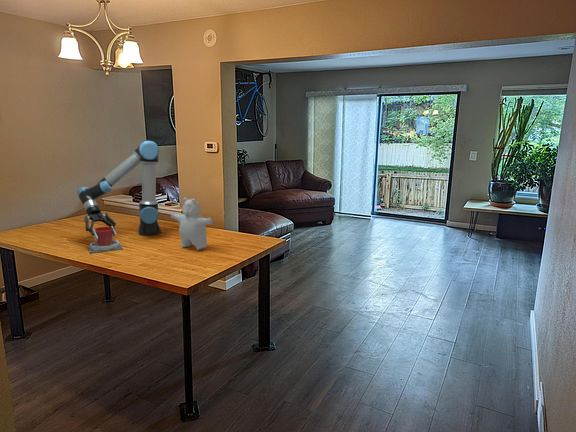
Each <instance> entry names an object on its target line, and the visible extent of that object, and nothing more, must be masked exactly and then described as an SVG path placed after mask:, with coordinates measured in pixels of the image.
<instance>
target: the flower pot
mask: <svg viewBox="0 0 576 432" xmlns="http://www.w3.org/2000/svg"><path fill="white" fill-rule="evenodd" d="M93 229H94V230H95V232H96V234H97V236H98V240H96V241H97V244H98V245H102V246H103V245H109V244H111V243H112V240H113V236H114V235H113V228H112V227H109V226H99V227H95V228H93Z"/></svg>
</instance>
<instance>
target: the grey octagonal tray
mask: <svg viewBox="0 0 576 432" xmlns="http://www.w3.org/2000/svg"><path fill="white" fill-rule="evenodd" d="M87 248H88V252H89V254H97V253H98V254H99V253H106V252H114V251H122V250H124V248H123V246H122V245H121V244H120V242H119V240H117V239H112V243H111V244H109V245H103V246H102V245H98V244H97V240H95V241H94V242H91V243H89V244H87Z"/></svg>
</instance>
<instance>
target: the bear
mask: <svg viewBox="0 0 576 432" xmlns="http://www.w3.org/2000/svg"><path fill="white" fill-rule="evenodd" d="M182 200H183V205H182V213H180V214H179V213H176V212H170V216H171V219H175V221H177V222H178V223H179V229H178V232H179V235H180V242H181V243H180V247H182V248H189V247H191V246H192V245H193V246H194V247H195V249H196V251H199V250H201V251H202V250H204V249H206V248H207V246H208V240H207V239H208V238H207V229H206V226H208V225H213V222H214V221H213V220H212V218H211V217H207V218H206V217H203V215H201V214H199V213H200V210H201V208H200V207H201V206H200V204H199V202H198V201H197V200H196V199H195V198H191V199H190V198H187V197H184V198H183V199H182Z"/></svg>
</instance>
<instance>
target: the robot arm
mask: <svg viewBox="0 0 576 432" xmlns="http://www.w3.org/2000/svg"><path fill="white" fill-rule="evenodd" d="M159 154H160V149H159V146H158V144H157V143H156V142H155V141H153V140H144V141H142V142H141V143H140V144H139V146H138V147H137V148H136V149H134V150H133V153H131V154H130V156H128V157H127V158H126V159H125V160H124V161H122V162H121V163H120V164H119V165H117V166H116V167H115V168H113V169H112V170H111V171H110V172H109V173H108V174H106V175H105V176H104V177H103V178H102V179H100V180H99V181H97V182H96V184H95V185H93V186H91V187H88V186H83V187H79V188H78V190H77V191H76V193H77V196H78V198H79V201H80V202H81V204H82V206H83V208H84V210H85V211H86V214H87V215H85V216H84V218H83V220H84V222H85V232H89V233H90V234H91V235H90V236H93V237H94V239H95V241H97V240H98V236H97V234H96V232H95V230H94V229H95V228H94V224H95V223H96V222H101V223H103V224H104V225H106V226H107V227H112V228H113V235H112V236H113V237H114V238H116V237H117V234H118V233H117V232H116V231H117V230H116V228H115V226H116V225H117V223H116V222H115V221H114V220H113V219H112V218H111V216H109V214H108V213H107V212H105V213H102V211H101V209H100V208H99V206H98V203H97V201H96V199H98V198H99V197H102V196H103V195H105V194H108V193H110V192H112V187H113V186H114V185H116V184H117V183H118V182H119V181H120V180H121V179H123V178H124V177H126V175H128V174H129V173H131V171H132V170H134V169H135V168H136V167H137V166H138V165H141V174H142V175H141V178H142V179H141V193H142V194H141V201H139V202H138V208H139V214H138V215H139V225H138V230H137V233H138V235H141V236H153V235H154V236H155V235H159V234H160V233H161V230H162V229H161V227H160V225H159V222H158V219H159V216H160V214H159V202H158V201H157V197H156V196H157V190H156V189H157V187H156V186H157V167H156V166H157V164H158V163H159ZM89 220H91V223H89V222H90V221H89Z"/></svg>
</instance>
